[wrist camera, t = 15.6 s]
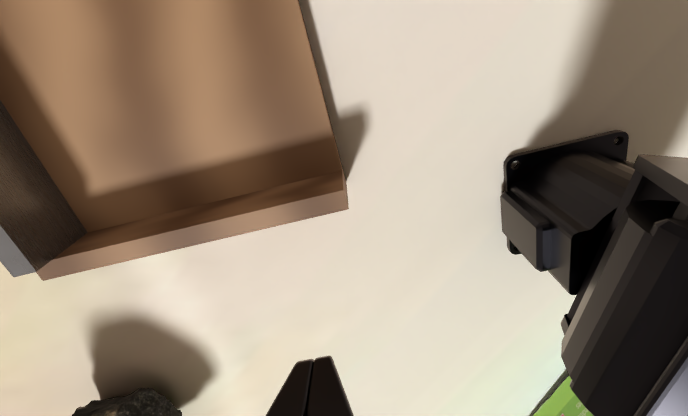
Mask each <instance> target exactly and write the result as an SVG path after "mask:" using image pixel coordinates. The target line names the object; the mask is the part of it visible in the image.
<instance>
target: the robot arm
mask: <svg viewBox="0 0 688 416" xmlns="http://www.w3.org/2000/svg"><path fill="white" fill-rule="evenodd" d="M617 137H619V140H618V142H617V143H615V144H614V140H615V139H616V138H617ZM628 139H629V138H628V134H627V133H626V132H623V131H620V130H615V131H610V132H606V133H602V134H598V135H594V136H589V137H585V138H581V139H577V140H573V141H568V142H564V143H560V144H556V145H552V146H547V147H543V148H539V149H535V150H531V151H526V152H522V153H518V154H514V155H511V156H509V157H507V158H506V159H505V161H504V165H503V166H504V188H505V192H503V193H502V195H501V197H500V198H501V217H502V231H503V233H504V234H505V235H506V236H507V247H508V250H509V251H510V252H511V253H512V254H523V255H524V256H525V257H526V259H527V260H528V261H529V262H530V263H531V264H532V265H533V266H534V268H535V269H537V270H539V271H540V272H543V271H547V270H548V271H549V273H550V274H551V275H552V276H553V277H554V278H555V279H556V280H557V281H558V282H559V283H560V284H561V285H562V286H563V287H564V288H565V289H566V291H567V292H568V293H569V294H571V295H577V296H576V298H575V300H574V302H573V304H572V306H571V309H570V311H569V313H568V314H565V315H564V318H563V320H562V322H561V326H562V329H563V332H564V335H565V336H564V338H563V340H562V352H561V357H562V359H563V362H564V364H565V367H566V369H567V371H568V374H569V376H570V378H571V379H572V380H571V382H570V388H571V390H572V391H573V392H574V394H575V395H576V396H577V398H578V399H579V400H580V401H581V403H582V404H583V405H584V406H585V407H586V409H587V410H588V411H589V412H590V413H591V414H592V415H593V416H688V158H682V157H668V156H655V155H638V157H637V159H636V161H635V164H633V163H630V162H628V161H626V156H627V147H628ZM514 161H517V165H516V166H515V167H513V168H511V163H512V162H514ZM514 246H516V247H517V248H514ZM266 416H354V415H353V413H352V410H351V407H350V405H349V402H348V399H347V396H346V394H345V391H344V388H343V386H342V383H341V380H340V378H339V375H338V372H337V369H336V367H335V364H334V361H333V359H332V357H331V356H325V357H319V358H316V359H315V360H313V359H308V360H303V361H299V362H297V363H296V364H295V366H294V367H293V369H292V371H291V373H290V374H289V376H288V378H287V379H286V381H285V383H284V385H283V386H282V388H281V390H280V392H279V393H278V395H277V397H276V399H275V400H274V402H273V404H272V406H271V407H270V409H269V411H268V413H267V414H266Z"/></svg>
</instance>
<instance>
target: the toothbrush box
mask: <svg viewBox="0 0 688 416" xmlns="http://www.w3.org/2000/svg"><path fill="white" fill-rule="evenodd" d="M571 380H572V379H571V378H570V376H568V377H567V378H566V379H565V380H564V381H563V382H562V384H561V385H560V386H559V387H558V388H557V389H556V390H555V392H554V393H553V394H552V396H551V397H550V398H549V399H548V400H546V401H545V402H544V404H543V405H541V407H540V408H539V409H538V411H537V412H536V413H535V414H534V415H533V416H593V415H592V414H591V413H590V412H589V411H588V410H587V409H586V407H585V406H584V405H583V404H582V403H581V401H580V400H579V399H578V398H577V396H576V395H575V394H574V392H573V391H572V390H571V388H570V382H571Z"/></svg>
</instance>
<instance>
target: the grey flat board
mask: <svg viewBox="0 0 688 416" xmlns="http://www.w3.org/2000/svg"><path fill="white" fill-rule="evenodd" d="M86 233H88V232H87V231H86V229H85V228H84V226H83V225H82V223H81V222H80V220H79V219H78V217H77V216H76V214H75V213H74V211H73V210H72V208H71V207H70V205H69V204H68V202H67V200H66V199H65V197H64V196H63V194H62V193H61V191H60V190H59V188H58V187H57V185H56V184H55V182H54V181H53V179H52V178H51V176H50V175H49V173H48V172H47V170H46V169H45V167H44V166H43V164H42V163H41V161H40V160H39V158H38V157H37V155H36V154H35V152H34V150H33V149H32V147H31V146H30V144H29V143H28V141H27V140H26V138H25V137H24V135H23V134H22V132H21V131H20V129H19V128H18V126H17V125H16V123H15V122H14V120H13V119H12V117H11V116H10V114H9V113H8V111H7V110H6V108H5V107H4V105H3V104H2V102H1V100H0V261H1V263H2V264H3V265H4V266H5V267H6V269H7V270H8V271H9V272H10V274H11V275H12V276H13V277H17V276H21V275H25V274H29V273H34V272H37V271H38V270H40V269H41V268H42V267H43V266H45V265H46V264H47V263H49V262H50V261H51V260H53V259H54V258H55V257H57V256H58V255H59V254H60V253H62V252H63V251H64V250H66V249H67V248H68V247H70V246H71V245H72V244H73V243H75V242H76V241H77V240H79V239H80V238H81V237H83V236H84V235H85V234H86Z"/></svg>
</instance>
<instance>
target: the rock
mask: <svg viewBox="0 0 688 416" xmlns="http://www.w3.org/2000/svg"><path fill="white" fill-rule="evenodd" d="M72 416H182V412H181V410H177V409H176V408H175V407H174V405H172V403H171V401H168V400H167V398H166V397H165V396H164V395H160V394H158V393H156V391H155V390H153V389H149V388H141V389H138V390H136V391H135V392H134V393H132V394H130V395H128V396H126V397H115V398H114V399H107V400H94V401H91V402H90V403H89V404H88V405H86V406H85V407H79V408H77V409H76V411H75V413H74V414H72Z"/></svg>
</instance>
